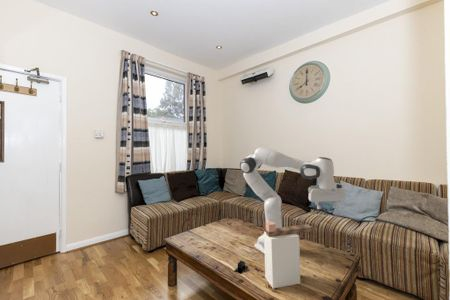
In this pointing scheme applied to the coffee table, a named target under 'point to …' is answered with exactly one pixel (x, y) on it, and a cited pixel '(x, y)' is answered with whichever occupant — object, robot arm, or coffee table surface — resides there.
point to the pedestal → (282, 260)
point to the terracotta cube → (270, 226)
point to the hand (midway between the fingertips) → (327, 208)
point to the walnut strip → (290, 230)
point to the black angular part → (241, 267)
